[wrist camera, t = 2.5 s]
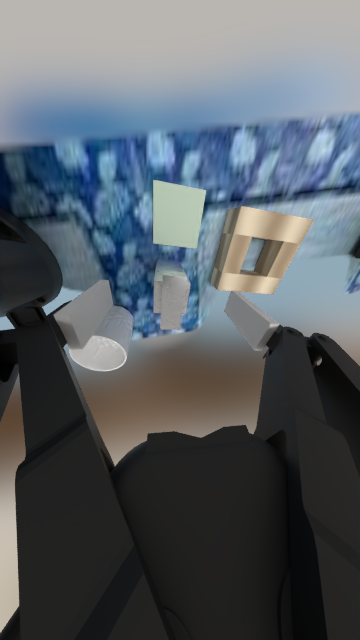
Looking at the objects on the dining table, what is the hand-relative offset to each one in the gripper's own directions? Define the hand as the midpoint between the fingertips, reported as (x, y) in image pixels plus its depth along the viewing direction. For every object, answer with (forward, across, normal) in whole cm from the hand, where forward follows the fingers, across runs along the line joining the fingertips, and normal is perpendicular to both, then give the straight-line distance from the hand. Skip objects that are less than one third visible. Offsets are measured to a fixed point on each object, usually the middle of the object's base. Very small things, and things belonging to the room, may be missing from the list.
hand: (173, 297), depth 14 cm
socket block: (+11, +14, +4) cm, 18 cm away
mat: (+11, +1, +8) cm, 14 cm away
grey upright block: (+11, 0, 0) cm, 11 cm away
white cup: (+11, -10, -11) cm, 19 cm away
